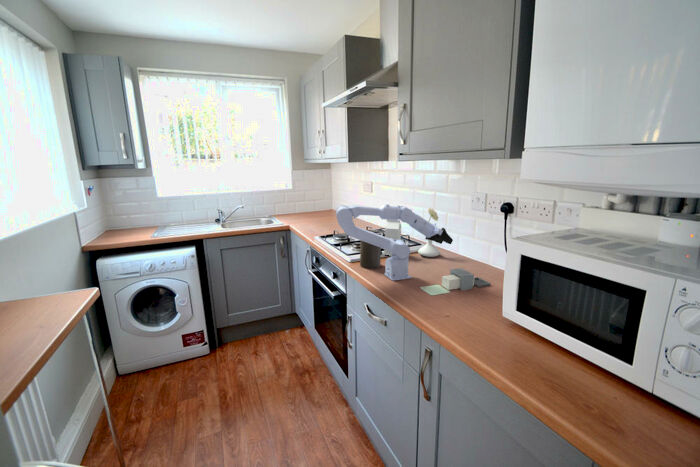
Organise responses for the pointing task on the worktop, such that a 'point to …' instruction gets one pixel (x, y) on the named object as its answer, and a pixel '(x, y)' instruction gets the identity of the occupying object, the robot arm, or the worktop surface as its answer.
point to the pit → (480, 282)
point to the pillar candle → (369, 255)
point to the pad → (434, 290)
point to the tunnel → (464, 278)
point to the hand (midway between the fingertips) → (446, 241)
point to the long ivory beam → (452, 282)
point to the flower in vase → (430, 241)
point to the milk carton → (392, 231)
